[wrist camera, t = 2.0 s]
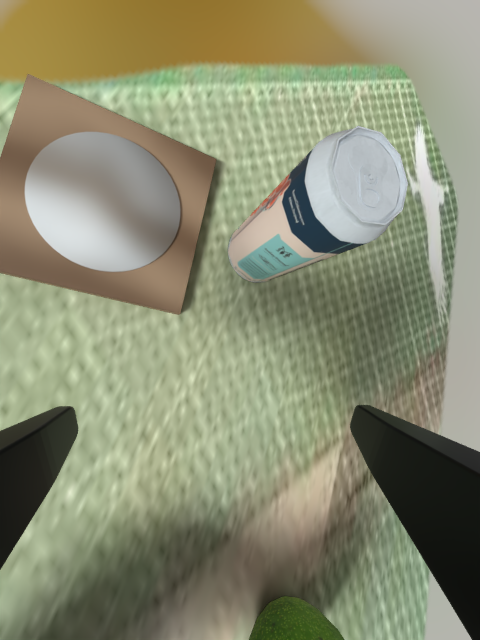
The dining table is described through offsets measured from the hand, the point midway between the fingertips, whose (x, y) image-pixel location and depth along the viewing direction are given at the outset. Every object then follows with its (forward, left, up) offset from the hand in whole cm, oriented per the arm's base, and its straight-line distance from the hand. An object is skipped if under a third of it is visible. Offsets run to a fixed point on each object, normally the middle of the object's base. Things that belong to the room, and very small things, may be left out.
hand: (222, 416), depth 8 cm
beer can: (+6, -9, -12) cm, 16 cm away
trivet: (+12, 0, -12) cm, 17 cm away
